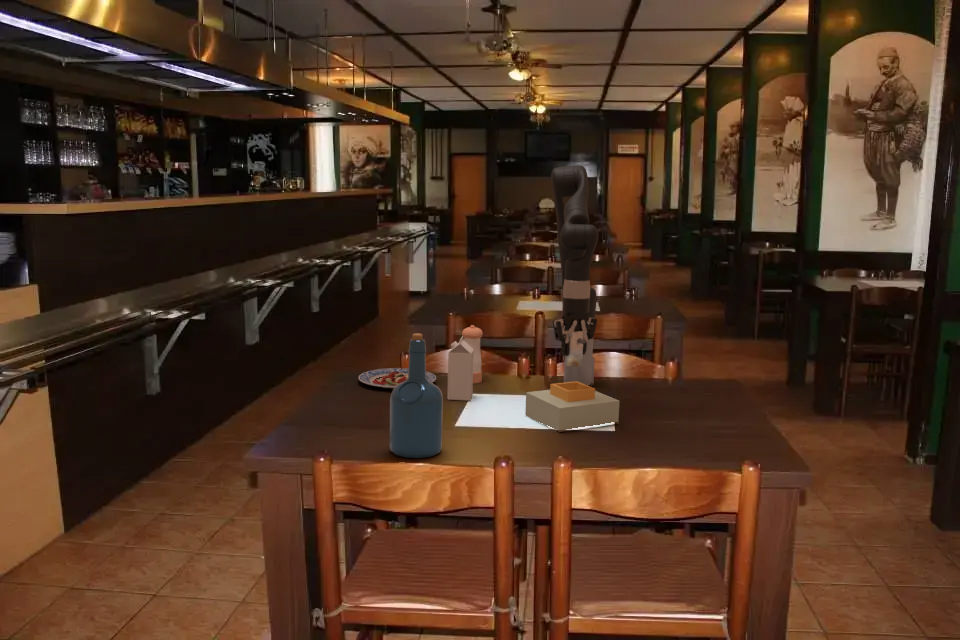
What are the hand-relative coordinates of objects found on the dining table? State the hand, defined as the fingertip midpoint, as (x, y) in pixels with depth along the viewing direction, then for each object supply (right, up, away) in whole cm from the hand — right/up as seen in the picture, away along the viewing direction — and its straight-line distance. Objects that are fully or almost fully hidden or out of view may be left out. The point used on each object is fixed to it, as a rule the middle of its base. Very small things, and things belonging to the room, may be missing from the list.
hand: (573, 354), depth 237 cm
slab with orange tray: (0, -19, +3) cm, 19 cm away
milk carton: (-33, -15, +24) cm, 43 cm away
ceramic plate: (-54, -12, +41) cm, 69 cm away
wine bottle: (-43, -23, -28) cm, 56 cm away
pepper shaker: (-30, -11, +46) cm, 56 cm away
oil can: (0, -3, -1) cm, 3 cm away
